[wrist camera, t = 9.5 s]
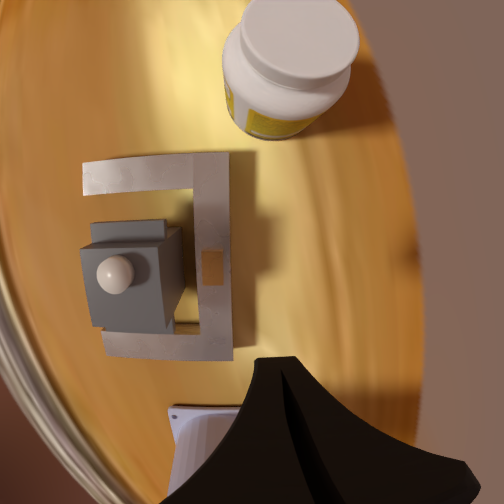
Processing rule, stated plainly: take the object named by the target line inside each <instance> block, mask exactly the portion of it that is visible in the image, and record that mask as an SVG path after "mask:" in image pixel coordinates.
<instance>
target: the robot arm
mask: <svg viewBox="0 0 504 504" xmlns="http://www.w3.org/2000/svg"><path fill="white" fill-rule="evenodd" d="M168 415H169V419H170V424H171V428H172V432H173V436H174V440H175V443H176V450H175V455H174V460H173V466H172V471H171V477H170V483H169V488H168V494H167V498H165V499H164V500H163V501H162V502H160V503H159V504H470V503H472V501H473V500H474V499H475V498H476V496H477V495H478V493H479V491H480V489H481V486H480V484H479V482H478V480H477V479H476V477H475V476H474V474H473V473H472V471H471V470H470V468H469V467H468V466H467V464H466V463H465V462H464V461H460V460H456V459H452V458H447V457H444V456H440V455H436V454H432V453H429V452H426V451H424V450H421V449H418V448H415V447H413V446H410V445H408V444H406V443H403V442H401V441H399V440H397V439H395V438H393V437H391V436H389V435H387V434H385V433H383V432H381V431H379V430H378V429H376V428H374V427H373V426H371V425H369V424H368V423H366V422H365V421H363V420H362V419H360V418H359V417H357V416H356V415H355V414H353V413H352V412H351V411H349V410H348V409H347V408H346V407H345V406H343V405H342V404H341V403H340V402H339V401H337V400H336V399H335V398H334V397H333V396H332V395H331V394H330V393H329V392H328V391H327V390H326V389H325V388H324V387H323V386H322V385H321V384H320V383H319V382H318V381H317V380H316V379H315V378H314V377H313V376H312V375H311V374H310V372H309V371H308V370H307V369H306V368H305V367H304V366H303V364H302V363H301V362H300V361H299V360H298V358H296V357H295V356H288V357H267V358H257V359H256V360H255V361H254V373H253V377H252V380H251V384H250V386H249V389H248V392H247V395H246V397H245V399H244V402H243V404H242V406H241V407H186V406H170V407H169V408H168ZM174 415H176V416H174Z"/></svg>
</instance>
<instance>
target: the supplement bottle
mask: <svg viewBox="0 0 504 504" xmlns="http://www.w3.org/2000/svg"><path fill="white" fill-rule="evenodd" d="M359 45H360V38H359V32H358V29H357V26H356V23H355V22H354V20H353V18H352V17H351V15H350V14H349V12H348V11H347V10H346V9H345V8H344V7H343V6H342V5H341V4H340V3H339V2H337V1H336V0H252V1H251V2H250V3H249V4H248V6H247V7H246V9H245V11H244V13H243V15H242V19H241V22H240V23H239V24H238V25H237V26H236V27H235V28H234V29H233V30H232V31H231V33H230V34H229V36H228V37H227V40H226V42H225V45H224V48H223V54H222V68H223V76H224V86H225V95H226V103H227V108H228V111H229V114H230V116H231V118H232V120H233V121H234V123H235V124H236V125H237V126H238V127H239V128H240V129H241V130H242V131H243V132H245V133H246V134H248V135H250V136H252V137H254V138H257V139H260V140H265V141H279V140H284V139H287V138H290V137H292V136H294V135H296V134H298V133H299V132H301V131H302V130H303V129H304V128H306V127H307V126H308V125H310V124H311V123H312V122H313V121H315V120H316V119H317V118H318V117H320V116H321V115H322V114H323V113H324V112H326V111H327V110H328V109H329V108H331V107H332V106H333V105H334V104H335V103H336V102H337V101H338V100H339V98H340V97H341V96H342V95H343V93H344V91H345V90H346V88H347V85H348V83H349V79H350V73H351V64H352V62H353V61H354V59H355V58H356V55H357V53H358V50H359Z"/></svg>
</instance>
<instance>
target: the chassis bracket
mask: <svg viewBox="0 0 504 504" xmlns="http://www.w3.org/2000/svg"><path fill="white" fill-rule="evenodd" d="M191 188H193V200H194V233H195V257H196V276H197V292H198V307H199V320H200V324H175V328H176V330H175V333H174V335H170V334H141V333H122V332H106V329H105V327H104V328H103V329H102V330H101V334H102V338H103V343H104V347H105V351H106V355H107V356H116V357H127V358H141V359H157V360H181V361H233V323H232V289H231V244H230V154H229V152H207V153H184V154H168V155H154V156H142V157H131V158H121V159H112V160H103V161H96V162H88V163H83V196H84V195H95V194H106V193H119V192H133V191H149V190H167V189H191Z"/></svg>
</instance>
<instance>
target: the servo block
mask: <svg viewBox="0 0 504 504" xmlns="http://www.w3.org/2000/svg"><path fill="white" fill-rule="evenodd" d="M90 227H91V238H92V244H89V245H87V246H85V247H83V248H81V249H80V256H81V264H82V271H83V277H84V284H85V290H86V295H87V301H88V306H89V311H90V316H91V321H92V325H93V326H94V327H105V329H106V332H122V333H141V334H170V335H174V333H175V330H176V328H175V319H174V311H175V309H176V307H177V305H178V303H179V300H180V298H181V296H182V294H183V292H184V290H185V277H184V263H183V246H182V227H167V220H166V219H148V220H126V221H107V222H94V223H91V224H90Z"/></svg>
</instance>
